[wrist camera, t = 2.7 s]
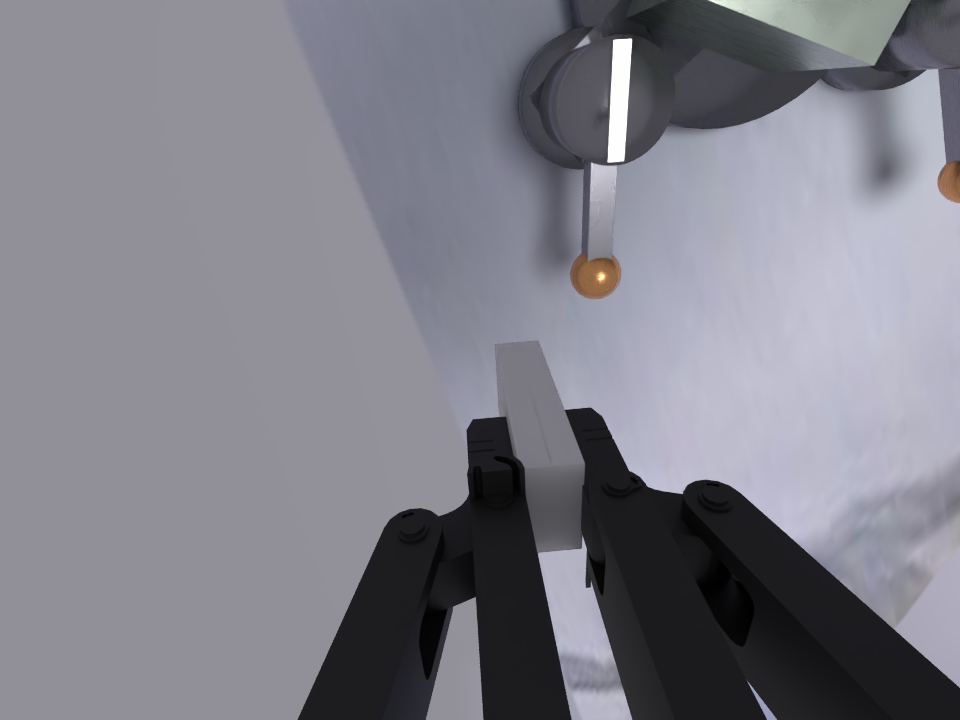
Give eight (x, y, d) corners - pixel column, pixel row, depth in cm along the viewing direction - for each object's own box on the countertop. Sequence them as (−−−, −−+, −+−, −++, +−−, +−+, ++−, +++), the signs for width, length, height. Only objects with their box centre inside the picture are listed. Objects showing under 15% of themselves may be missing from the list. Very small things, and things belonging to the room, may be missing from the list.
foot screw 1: (538, 49, 24) (560, 37, 19) (637, 42, 24) (685, 28, 19) (540, 282, 29) (558, 319, 25) (621, 275, 29) (655, 311, 25)
